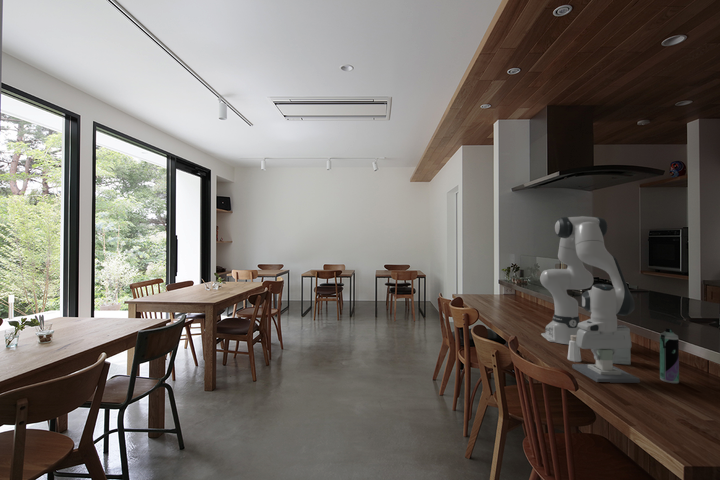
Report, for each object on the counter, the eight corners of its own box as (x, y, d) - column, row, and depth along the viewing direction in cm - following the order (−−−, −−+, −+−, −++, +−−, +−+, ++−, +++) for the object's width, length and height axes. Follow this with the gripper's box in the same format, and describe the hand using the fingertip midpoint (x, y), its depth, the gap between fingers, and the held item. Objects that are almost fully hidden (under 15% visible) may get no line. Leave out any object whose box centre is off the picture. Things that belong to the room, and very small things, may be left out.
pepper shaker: (581, 362, 156) (581, 337, 156) (567, 360, 159) (567, 336, 159) (581, 359, 161) (581, 335, 161) (567, 357, 164) (567, 333, 164)
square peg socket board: (572, 367, 150) (572, 361, 150) (609, 367, 150) (609, 361, 150) (597, 382, 134) (597, 375, 134) (639, 382, 134) (639, 375, 134)
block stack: (595, 366, 144) (595, 347, 144) (605, 366, 144) (605, 347, 144) (602, 370, 140) (602, 350, 140) (612, 370, 140) (612, 350, 140)
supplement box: (631, 364, 153) (631, 335, 154) (612, 363, 155) (611, 334, 155) (622, 359, 161) (622, 331, 161) (604, 358, 162) (603, 330, 162)
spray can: (674, 384, 132) (674, 330, 132) (657, 379, 137) (656, 327, 137) (681, 381, 135) (681, 329, 135) (664, 376, 140) (663, 326, 140)
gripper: (623, 323, 145) (623, 357, 145) (573, 323, 145) (574, 356, 145) (635, 326, 139) (635, 362, 139) (583, 326, 139) (583, 362, 139)
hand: (603, 359), depth 142 cm, fingers closed on block stack, 4 cm apart
